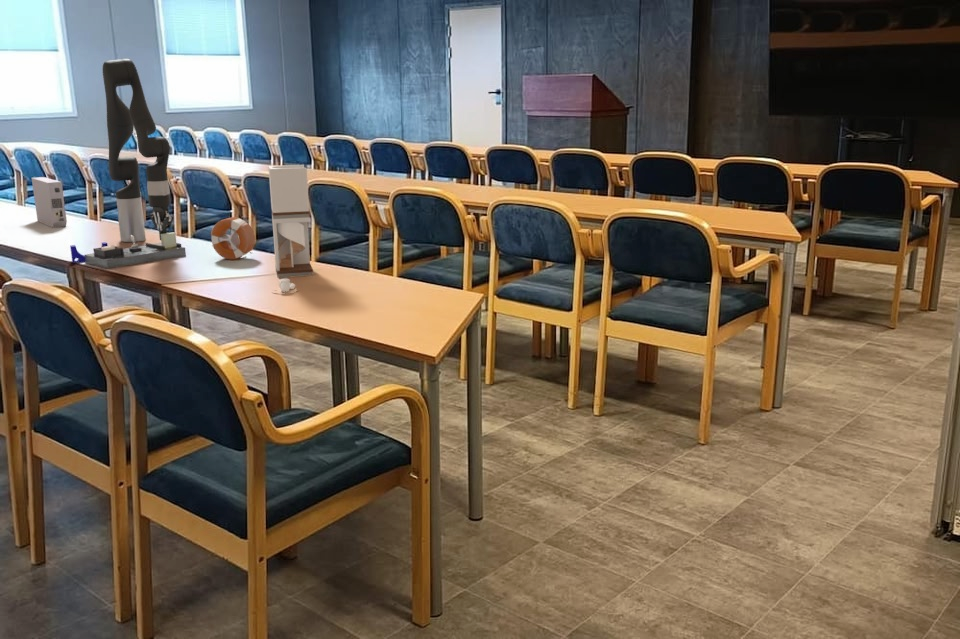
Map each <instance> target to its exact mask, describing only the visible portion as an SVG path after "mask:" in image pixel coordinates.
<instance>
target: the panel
mask: <svg viewBox="0 0 960 639" xmlns="http://www.w3.org/2000/svg"><path fill="white" fill-rule="evenodd" d="M176 244H177V246H175V247H169V248H165V246H162V243H161V242H158V243H150V242H145V244H144V245H139V247H135V248H132V247H131V246H130V247H126V248H124V247H120V246H115V245H114V246H115V249H111V250H102V249H101V248H102V247H97V248H96V247H95V248H93V252H92V253H87V254H84V256H85V262H84V263H85V264H87V265H88V264H89V265H91V266H95V267H98V268H99V267H100V268H103V269H106V270H108V269H109V270H110V269H115V268H119V267H127V266H132V265H139V264H145V263H151V262H156V261H160V260H161V261H163V260H168V258H169V259H173V258H178V257H185V256H187V254H186V247H185V246H182V243H180V242H179V243H178V242H176Z"/></svg>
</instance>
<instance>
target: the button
mask: <svg viewBox="0 0 960 639" xmlns="http://www.w3.org/2000/svg"><path fill="white" fill-rule="evenodd" d="M100 248H101V247H100ZM101 249H102V250H111V249H115V245H108V246H105V247H102V248H101Z"/></svg>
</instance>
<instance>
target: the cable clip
mask: <svg viewBox="0 0 960 639" xmlns="http://www.w3.org/2000/svg"><path fill="white" fill-rule="evenodd" d="M105 246H109V245H108V242H106V241H104V242H101V247H105ZM69 247H70V253H71V261H72V263H73V264H75V263H85V256H84V255H85V254H84V255H83V254H82V253H80V252H79V251H78V250H77V246H76V245H75V244H73V245H72V244H71V245H70V246H69ZM101 247H100V248H101ZM76 259H77V260H76Z"/></svg>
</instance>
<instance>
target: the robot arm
mask: <svg viewBox="0 0 960 639" xmlns="http://www.w3.org/2000/svg"><path fill="white" fill-rule="evenodd" d="M102 64H103V65H102V77H103V79H102V80H103V85H104V91H105V99H106V100H105V101H106V102H105V104H106V126H107V137H108V173H109V177H110V179H111V180H112V181H116V182H117V181H118V182H120V181H121V182H123V181H124V182H125V181H130V182H129V184H128V185H126V186H125V187H123V188H120V189H118V190H116V191H115V198H116V206H117V216H118V217H117V219H118V229H119V235H120V241H121V242H123V243H132V241H131V238H130V236H131V235H133V236H134V239H135V242H136V243H138V242H143V241H146V239H147V238H146V230H145V221H144V211H143V203H142V195H141V186H140V185H141V184H140V168H139V161H138V159H137V158H136V157H135V156H120V153H121V151H122V149H123V148H124V147H125V145H126V144H127V143H128V141H129V140H130V139H131V137H132V135H133V134H134V130H135V132H136V138H137V148H138V151H139V153H140V155H142V157H144V158H145V159H147V158H149V159H150V158H156V160H155V161H154V162H153V163H149V164H148V165H146V167H145V171H146V182H147V185H146V187H147V188H146V189H147V197H148V207H151V208H152V213H150V214H149V217H150V220H151V222H152V224H153V226H154V228H155V229H157V231H158V232H159V233H158V234H159V240H160V241H161V234H165V233H168V230H169V229H171V227H172V223H173V222H174V216H173V215H170V210H169V207H170V206H171V205H172V203H171V202H172V201H171V191H170V184H169V180H168V178H169V177H168V163H169V157H170V150H171V146H170V143H169V141H168V138H165V136H151V137H150V135H153V134H154V133H155V132H156V130H157V126H156V124H155V121H154V118H153V116H152V114H151V112H150V110H149V107H148V103H147V100H146V97H145V94H144V90H143V86H142V83H141V79H140V76H139V72H138V69H137V66H136V65H135V62H133V60H131V59H129V58H122V59H120V58H119V59H112V60H106V61H104V62H103V63H102ZM124 86H130V87H131V90H132V97H131V100H130V105H129V107H128V106H127V104H125V103H124V102H123V101H122V99H121V98H120V96H119V95H118V92H117V88H118V87H124Z"/></svg>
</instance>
